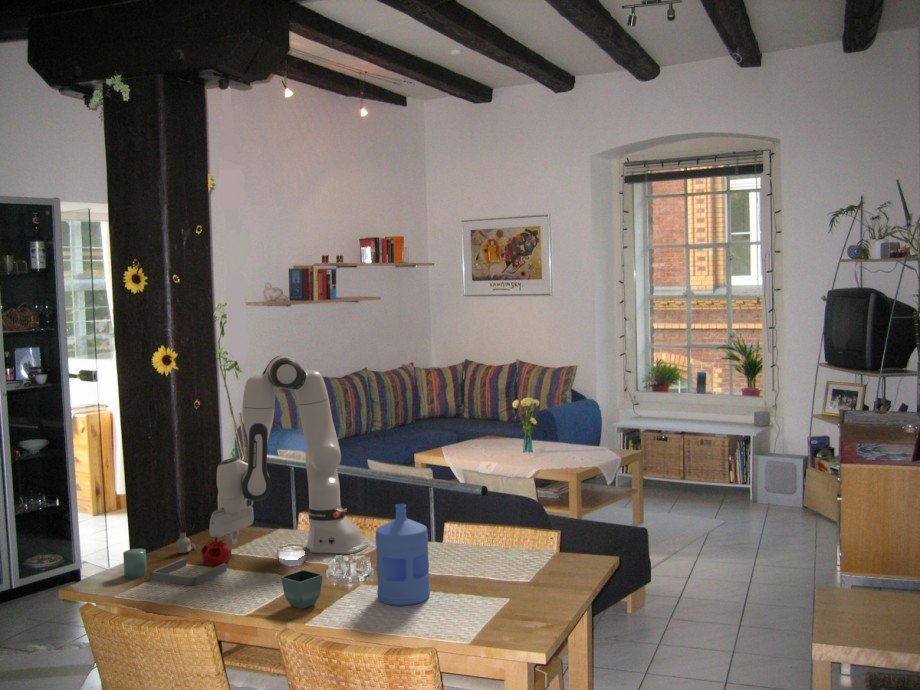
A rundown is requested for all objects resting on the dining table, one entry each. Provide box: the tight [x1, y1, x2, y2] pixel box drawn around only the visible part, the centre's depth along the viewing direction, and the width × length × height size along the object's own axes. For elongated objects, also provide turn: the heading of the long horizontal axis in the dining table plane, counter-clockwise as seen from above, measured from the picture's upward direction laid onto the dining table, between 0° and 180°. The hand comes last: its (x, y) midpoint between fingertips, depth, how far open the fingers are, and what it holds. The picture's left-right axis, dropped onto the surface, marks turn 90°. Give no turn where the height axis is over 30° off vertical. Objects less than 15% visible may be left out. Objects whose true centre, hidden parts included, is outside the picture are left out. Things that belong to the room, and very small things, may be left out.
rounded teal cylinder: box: [122, 548, 148, 580], centre depth 300 cm, size 7×7×8 cm
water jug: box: [375, 503, 431, 607], centre depth 271 cm, size 16×16×28 cm
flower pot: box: [281, 569, 323, 610], centre depth 267 cm, size 9×9×9 cm
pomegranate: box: [201, 538, 232, 567], centre depth 311 cm, size 10×10×9 cm
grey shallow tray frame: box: [149, 557, 228, 587], centre depth 299 cm, size 18×16×2 cm
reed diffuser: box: [171, 497, 197, 554], centre depth 324 cm, size 10×7×20 cm
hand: (232, 543), depth 319 cm, fingers closed
